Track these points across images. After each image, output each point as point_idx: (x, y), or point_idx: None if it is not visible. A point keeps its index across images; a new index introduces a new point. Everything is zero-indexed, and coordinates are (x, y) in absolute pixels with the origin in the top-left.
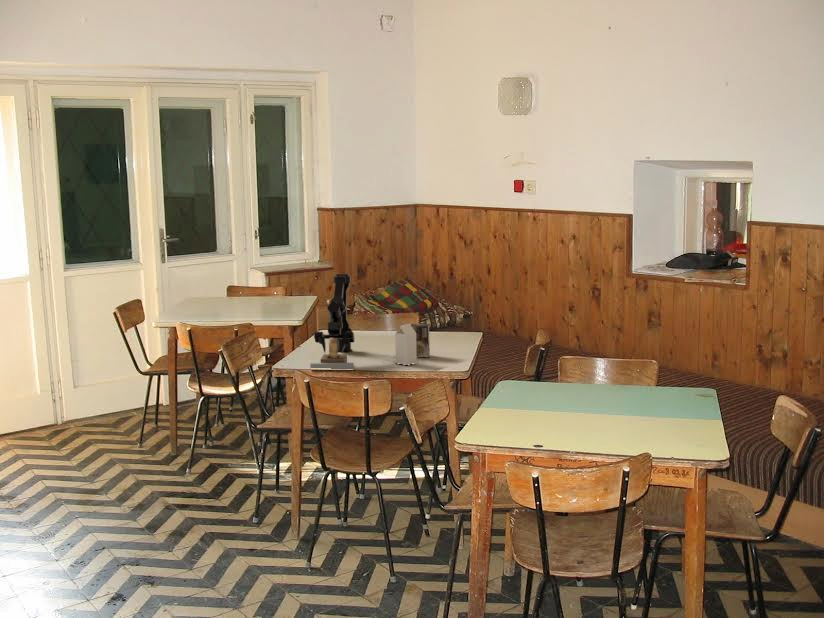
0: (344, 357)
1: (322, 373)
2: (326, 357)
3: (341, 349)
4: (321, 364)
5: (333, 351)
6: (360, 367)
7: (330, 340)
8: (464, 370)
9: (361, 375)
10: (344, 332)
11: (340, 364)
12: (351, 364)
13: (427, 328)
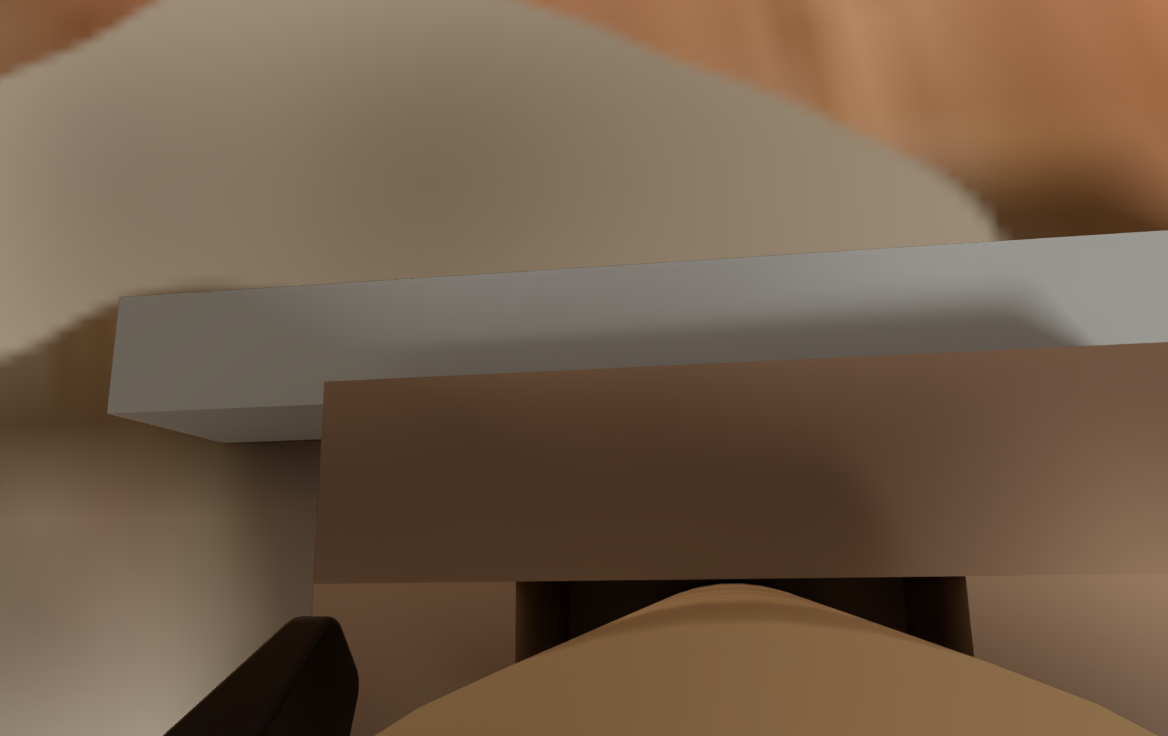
0: None
1: (900, 95)
2: None
3: (266, 679)
4: (1041, 248)
5: (699, 591)
6: (80, 715)
7: (1066, 699)
8: None
9: (68, 16)
10: None
11: (461, 282)
12: (172, 301)
13: None
